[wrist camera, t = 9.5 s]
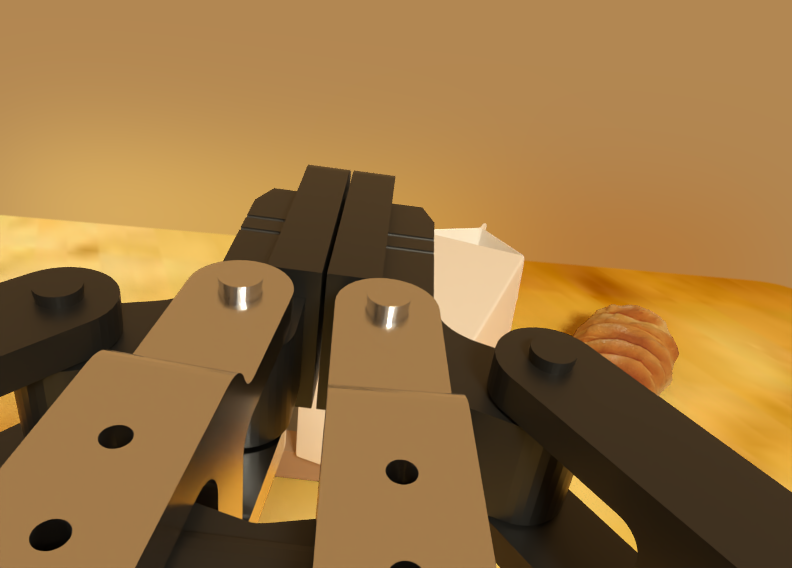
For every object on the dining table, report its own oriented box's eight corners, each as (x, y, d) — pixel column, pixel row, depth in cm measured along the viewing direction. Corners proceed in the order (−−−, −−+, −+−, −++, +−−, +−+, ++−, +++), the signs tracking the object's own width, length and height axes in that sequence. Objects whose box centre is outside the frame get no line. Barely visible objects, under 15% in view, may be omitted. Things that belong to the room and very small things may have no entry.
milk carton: (300, 332, 32) (434, 211, 48) (293, 459, 35) (421, 305, 51) (453, 377, 30) (538, 235, 46) (431, 507, 33) (518, 331, 49)
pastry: (655, 443, 42) (673, 391, 40) (544, 403, 44) (556, 353, 42) (674, 362, 50) (690, 316, 48) (578, 332, 52) (590, 286, 50)
